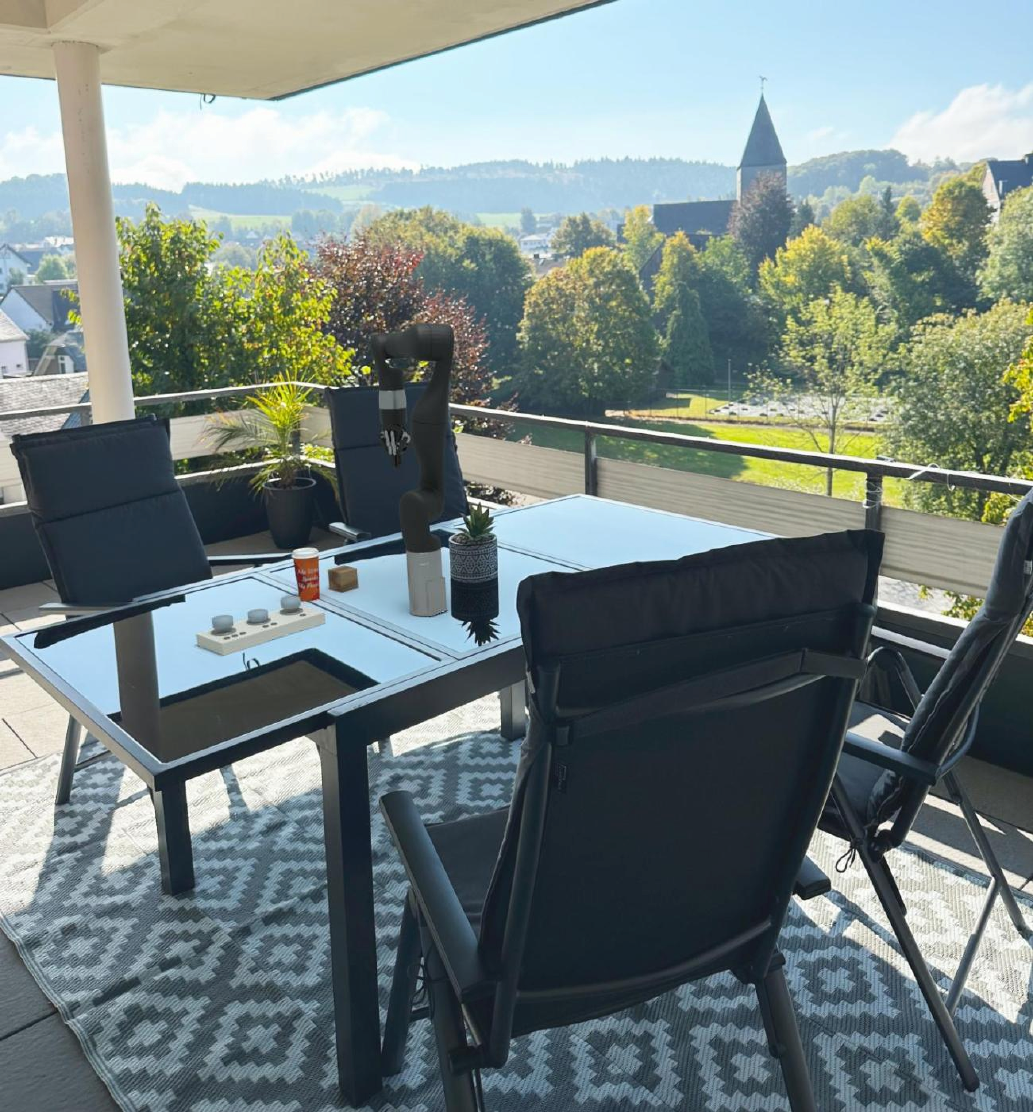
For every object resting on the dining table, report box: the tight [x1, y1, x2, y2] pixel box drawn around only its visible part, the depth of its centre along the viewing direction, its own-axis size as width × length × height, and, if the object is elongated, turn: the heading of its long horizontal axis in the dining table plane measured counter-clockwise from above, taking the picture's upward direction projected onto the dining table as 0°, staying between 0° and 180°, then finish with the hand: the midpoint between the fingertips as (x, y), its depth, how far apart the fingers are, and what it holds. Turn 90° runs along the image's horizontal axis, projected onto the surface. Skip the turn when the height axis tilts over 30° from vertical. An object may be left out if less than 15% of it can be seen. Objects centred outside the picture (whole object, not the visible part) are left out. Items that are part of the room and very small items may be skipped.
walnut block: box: [327, 565, 359, 594], centre depth 290 cm, size 6×6×6 cm
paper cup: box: [291, 547, 321, 602], centre depth 281 cm, size 8×8×14 cm
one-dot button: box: [279, 595, 302, 609], centre depth 260 cm, size 5×5×2 cm
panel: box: [195, 605, 326, 656], centre depth 253 cm, size 12×30×3 cm, turn 137°
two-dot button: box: [247, 608, 269, 623], centre depth 254 cm, size 5×5×2 cm
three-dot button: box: [211, 614, 234, 629], centre depth 246 cm, size 5×5×2 cm
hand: (396, 467), depth 283 cm, fingers closed
